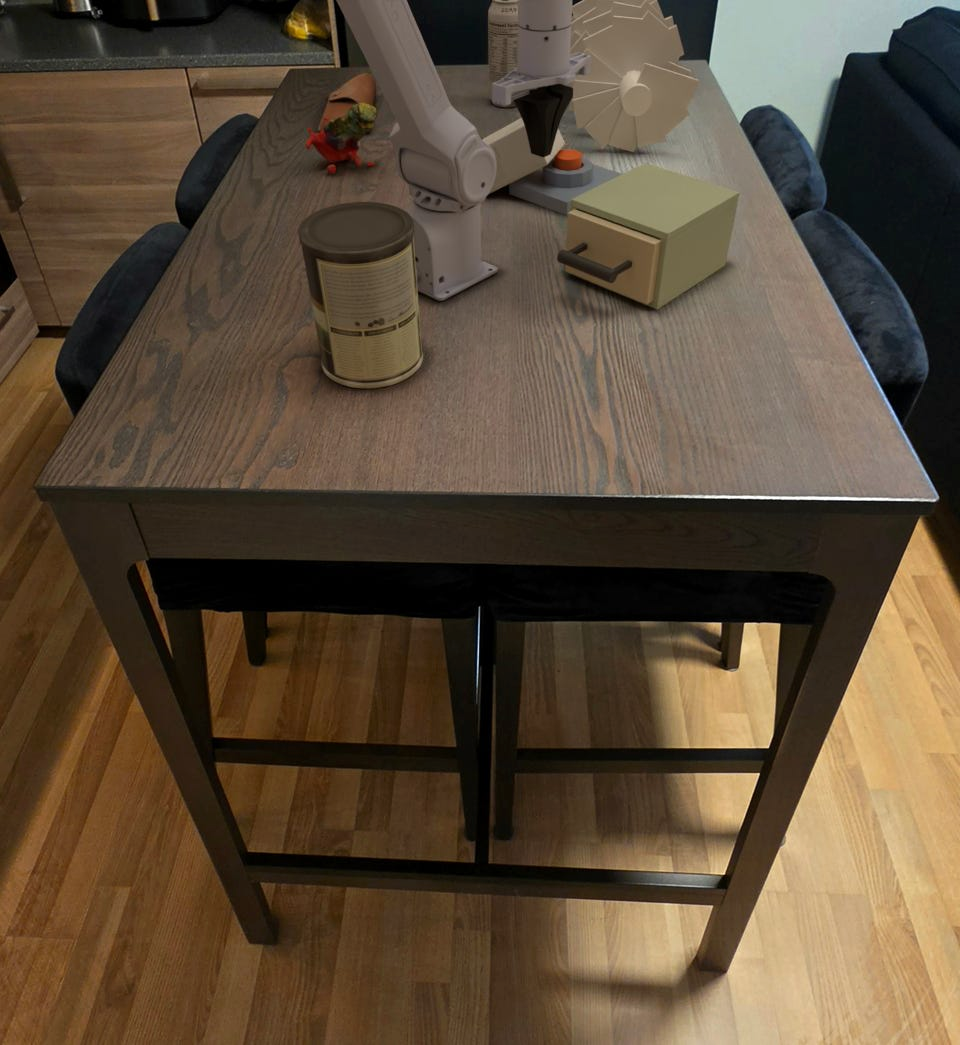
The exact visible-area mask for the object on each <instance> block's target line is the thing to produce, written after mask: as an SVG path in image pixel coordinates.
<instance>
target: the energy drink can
mask: <svg viewBox="0 0 960 1045" xmlns="http://www.w3.org/2000/svg"><path fill="white" fill-rule="evenodd" d="M487 25H488V27H487V31H488V32H487V33H488V37H487V38H488V43H487V44H488V46H487V47H488V98H489V100H491V102H492V83H494V82H497V81H499V80H501V79H502V78H503V77H505V76H506V75H507V74H509V73H510V72H511V71H512V70H514V69H515V68H516V67H517V61H518V0H491V4H490V6H489V8H488V11H487ZM492 105H493V106H496V107H499V108H514V107H517V106H516V104H515V103H514V101H513V100H512V101H511V104H510V105H507V106H503V105H500V104H496V103H493V102H492Z"/></svg>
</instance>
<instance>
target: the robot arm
mask: <svg viewBox="0 0 960 1045" xmlns="http://www.w3.org/2000/svg"><path fill="white" fill-rule="evenodd" d="M336 2H337V5H338V7H339V8H340V10H341V13H342V14H343V17H344V19H345V21H346V23H347V24H348V27H349V28H350V31H351V32H352V34H353V37H354V39H355V41H356V43H357V44H358V46H359V48H360V50H361V52H362V55H363V56H364V59H365V60H366V62H367V65H368V67H369V69H370V71H371V73H372V75H373V76H374V77H373V78H374V80H375V82H376V84H378V87H379V89H380V91H381V92H382V95H383V96H384V99H385V101H386V102H387V105H388V106H389V109H390V111H391V113H392V115H393V117H394V118H395V121H396V122H395V124H394V125H393V127H392V130H391V132H390V134H389V136H388V139H389V141H390V143H391V145H392V147H393V151H394V155H395V157H394V158H395V166H396V171H397V173H398V176H399V177H400V179H401V180H402V181H403V182H404V183H405V184H408V195H409V196H411V197H413V200H412V203H411V205H410V206H409V208H408V209H407V210H405V211H406V212H407V213H408V214H409V215H410V216H411V217H412V219H413V221H414V234H413V238H414V251H415V265H416V278H417V290H418V293H419V292H420V293H421V294H424V295H426V296H428V297H430V298H432V299H434V300H437V301H439V302H442V301H445V300H447V299H449V298H451V297H452V296H454V295H457V294H458V293H460V292H462V291H464V290H466V289H468V288H470V287H472V286H473V285H475V284H477V283H479V282H481V281H483V280H486V279H487V278H489V277H492V276H493V275H495V274H497V273H498V271H499V269H498V266H495V265H493V264H491V263H488V262H486V261H485V260H482V209H481V208H482V205H481V204H482V202H486V200H487V199H486V198H487V197H488V195H490V194H489V192H490V190H491V188H492V186H493V184H494V181H495V177H496V166H497V164H496V157H495V154H494V151H493V149H492V148H491V147H490V146H489V145H488V144H487V143H485V142H484V141H482V140H483V139H482V138H481V136H480V134H479V132H478V129H477V127H475V125H474V124H472V122H470V120H468V119H467V118H466V117H465V116H464V115H463V114H461V113H460V112H459V111H458V110H456V108H455V107H454V106H453V105H452V104H451V102H450V100H449V99H450V98H449V97H448V95H447V93H446V89H445V88H444V85H443V83H442V81H441V78H440V76H439V74H438V71H437V69H436V67H435V64H434V62H433V59H432V58H431V55H430V53H429V50H428V48H427V45H426V43H425V41H424V39H423V38H424V37H423V36H422V33H421V31H420V29H419V26H418V24H417V22H416V20H415V19H416V18H415V17H414V15H413V14H414V13H413V12H412V10H411V7H410V5H409V3H408V0H336ZM572 6H573V0H518V61H517V67H516V68H515V69H514V70H512V71H511V72H510V73H509V74H507V75H506V76H505V77H503V78H502V79H501V80H499V81H497V82H494V83H492V100H491V102H493V103H496V104H500V105H503V106H507V105H510V104H511V101H512V100H513V101H514V103H515V104H516V106H515V107H516V108H517V110H518V112H519V115H520V118H522V120H523V122H524V125H525V129H526V133H527V137H528V141H529V146H530V150H531V154H534V155H537V156H540V157H546V156H548V155H550V154H551V151H552V148H553V144H554V141H555V137H556V133H557V130H558V129H559V128H560V124H561V121H562V119H563V117H564V114H565V112H566V110H567V108H568V107H569V105H570V101H571V99H572V98H573V88H572V87H569V86H565V85H564V84H569V83H571V82H574V81H575V76H577V75H580V74H581V75H588V74H590V67H591V56H590V55H586V54H582V53H575V54H571V55H570V40H571V20H572V16H573V13H572ZM493 103H492V104H493Z"/></svg>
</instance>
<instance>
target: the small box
mask: <svg viewBox="0 0 960 1045" xmlns="http://www.w3.org/2000/svg"><path fill="white" fill-rule="evenodd" d="M482 141H484V142H485V143H487V144H488V145H489V146H490V147H491V148H492V149H493V151H494V154H495V157H496V164H497V166H496V177H495V181H494V184H493V186H492V188H491V190H490V192H489V194H488V195H490V194H492V193H494V192H496V191H497V190H499V189H501V188H504V187H506V186H509V184H510V183H512V182H514V181H516V180H518V179H520V178H522V177H524V176H526V175H528V174H530V173H532V172H534V171H536V170H538V169H540V168H542V167H544V166H546V165H548V164H549V162H550V161H551V160H552V159H553V158H554V156H555V155H556V154H557V153H558V152H559V151H560V150H562V149H563V147H564V146H565V145H566V143H565V139H564V138H563V136H562V133H561V131H560V130H559V128H558V130H557V133H556V137H555V141H554V144H553V148H552V151H551V154H550V155H548V156H546V157H540V156H537V155H534V154H531V150H530V146H529V141H528V137H527V133H526V129H525V125H524V122H523V120H522V117H520V118H519V119H517V120H515V121H514V122H511V123H510V124H508V125H506V126H504V127H502V128H499V129H498V130H497V131H494V132H493V133H491V134H489V135H487V136H485V137H484V138H483V139H482Z"/></svg>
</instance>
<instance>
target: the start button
mask: <svg viewBox="0 0 960 1045" xmlns="http://www.w3.org/2000/svg"><path fill="white" fill-rule="evenodd" d="M582 157H583V153H582V152H581V151H579V150H576V149H569V148H567V149H560V151H559V152H558V153H557V154H556V155H555V157H554V168H556V169H559V170H565V171H572V170H578V169H580V168H581V166H582Z"/></svg>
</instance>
